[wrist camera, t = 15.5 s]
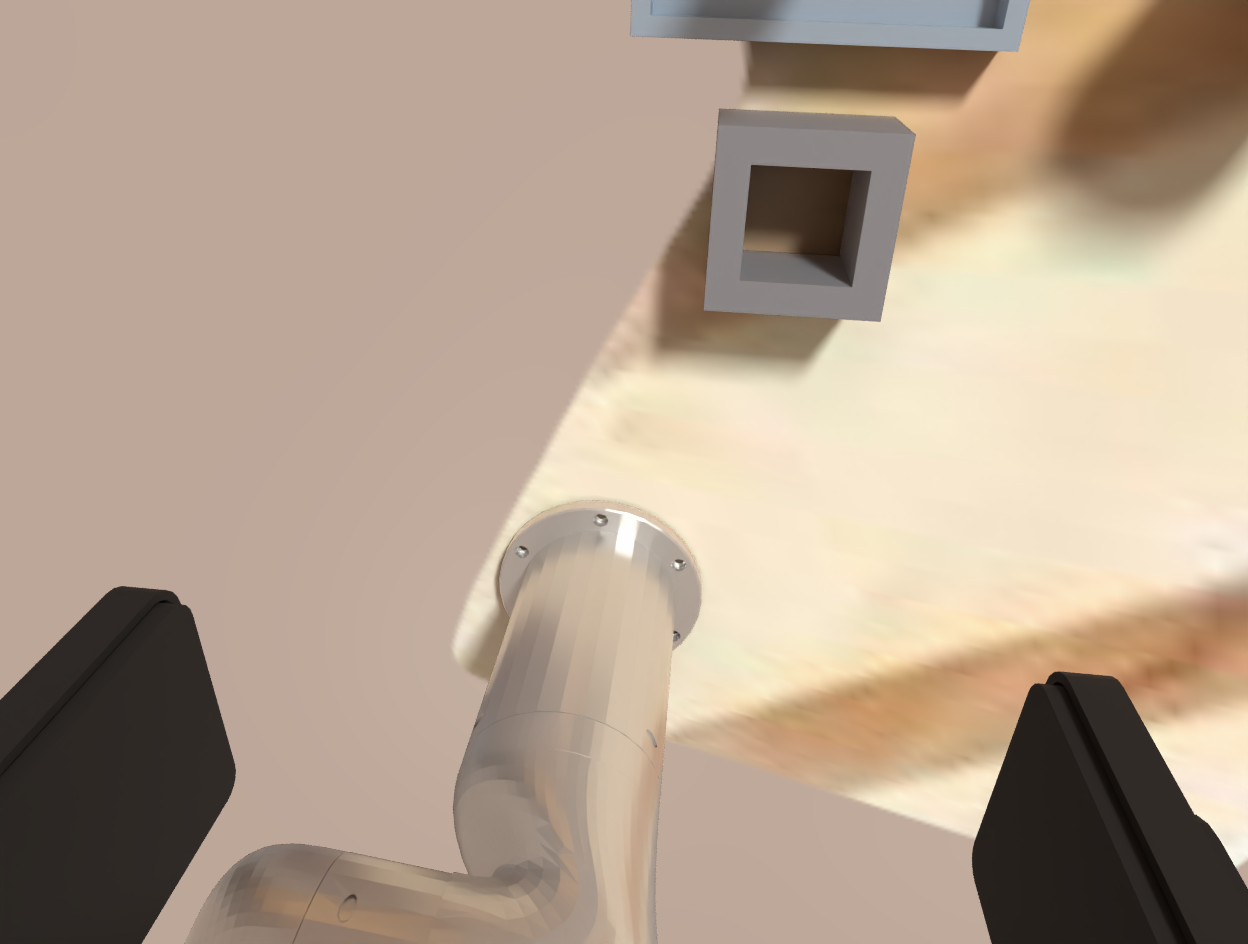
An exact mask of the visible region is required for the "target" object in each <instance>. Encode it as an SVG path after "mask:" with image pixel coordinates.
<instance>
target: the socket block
mask: <svg viewBox="0 0 1248 944" xmlns="http://www.w3.org/2000/svg"><path fill="white" fill-rule="evenodd" d="M915 136H916V134H915V133H913V132H912V131H911V130H910V129H909V128H907V127H906V126H905V125H904V124H903V123H902V122H900V121H899V120H898V119H897V118H896V117H887V116H865V115H844V114H822V113H801V112H779V111H758V110H736V109H719V119H718V131H717V143H716V155H715V168H714V180H713V193H712V205H711V218H710V231H709V243H708V256H707V268H706V281H705V297H704V311H719V312H735V313H751V314H766V315H782V316H798V317H814V318H829V319H845V320H861V321H877V322H880V321H881V316H882V311H883V305H884V300H885V295H886V289H887V284H888V279H889V273H890V268H891V263H892V258H893V252H894V247H895V242H896V236H897V231H898V226H899V220H900V215H901V210H902V205H903V199H904V194H905V189H906V183H907V178H908V173H909V167H910V162H911V157H912V151H913V146H914V141H915ZM751 165H766V166H786V167H805V168H825V169H844V170H853V173H852V180H851V186H850V192H849V199H848V205H847V211H846V218H845V224H844V230H843V237H842V243H841V250H840V256H832V255H815V254H798V253H781V252H763V251H746V250H743V241H744V231H745V221H746V211H747V201H748V191H749V181H750V171H751Z"/></svg>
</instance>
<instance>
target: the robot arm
mask: <svg viewBox="0 0 1248 944" xmlns="http://www.w3.org/2000/svg"><path fill="white" fill-rule="evenodd" d="M601 514H602V515H601ZM499 583H500V594H501V598H502V602H503V605H504V608H505V610H506V612H507V614H508V616H509V618H510V620H509V623H508V626H507V629H506V632H505V635H504V638H503V641H502V644H501V647H500V650H499V653H498V656H497V659H496V662H495V665H494V668H493V671H492V674H491V677H490V680H489V683H488V686H487V689H486V692H485V695H484V698H483V701H482V704H481V707H480V710H479V713H478V716H477V719H476V722H475V725H474V728H473V731H472V734H471V737H470V740H469V743H468V746H467V749H466V752H465V755H464V758H463V761H462V764H461V767H460V770H459V773H458V777H457V781H456V786H455V793H454V804H453V814H454V825H455V832H456V837H457V841H458V845H459V848H460V852H461V856H462V859H463V861H464V864H465V867H466V869H467V871H468V874H469V875H467V874H461V873H457V872H454V873H453V874H452V873H447V872H442V871H437V870H433V869H427V868H423V867H418V866H413V865H408V864H404V863H399V862H394V861H389V860H384V859H380V858H375V857H371V856H366V855H361V854H356V853H352V852H345V851H340V850H335V849H330V848H326V847H319V846H312V845H305V844H280V845H272V846H268V847H264V848H261V849H259V850H257V851H255V852H252V853H250V854H248V855H247V856H245V857H244V858H243V859H241V860H240V861H238V862H237V863H236V864H235V865H233V866H232V868H231V869H230V870H229V871H228V872H227V873H226V874H225V875H224V876H223V877H222V878H221V879H220V881H219V882H218V883H217V885H216V886H215V888H214V889H213V890H212V892H211V893H210V895H209V897H208V898H207V900H206V902H205V903H204V905H203V907H202V908H201V910H200V912H199V914H198V916H197V918H196V920H195V923H194V925H193V927H192V929H191V931H190V933H189V935H188V937H187V939H186V941H185V943H184V944H658V941H657V927H656V902H655V895H656V853H657V834H658V820H659V807H660V795H661V783H662V771H663V758H664V745H665V733H666V720H667V708H668V695H669V682H670V670H671V657H672V651H673V650H674V649H676V648H677V647H678V646H679V645H680V644H682V642H683V641H684V640H685V639H686V637H687V636H688V635H689V634H690V632H691V631H692V629H693V627H694V625H695V623H696V621H697V619H698V615H699V611H700V606H701V595H702V585H701V578H700V571H699V569H698V566H697V564H696V561H695V558H694V556H693V554H692V553H691V551H690V550H689V548H688V547H687V545H686V544H685V542H684V541H683V540H682V539H681V538H680V537H679V536H678V535H677V534H676V533H675V532H674V531H673V530H672V529H671V528H670V527H669V526H667V525H666V524H664V523H663V522H662V521H660V520H659V519H657V518H656V517H654V516H652V515H650V514H648V513H646V512H644V511H641V510H639V509H637V508H634V507H630V506H627V505H623V504H620V503H615V502H606V501H598V500H597V501H577V502H572V503H568V504H563V505H559V506H556V507H554V508H551V509H549V510H547V511H544V512H542V513H540V514H539V515H537V516H536V517H534V518H533V519H531V520H530V521H528V522H527V523H526V524H525V525H524V526H523V527H522V528H521V529H520V530H519V531H518V532H517V533H516V535H515V536H514V538H513V540H512V541H511V543H510V544H509V546H508V548H507V551H506V554H505V556H504V559H503V561H502V565H501V570H500V576H499ZM235 774H236V769H235V763H234V759H233V756H232V752H231V749H230V745H229V742H228V738H227V735H226V731H225V728H224V724H223V720H222V717H221V713H220V710H219V706H218V703H217V699H216V696H215V692H214V688H213V685H212V681H211V678H210V674H209V671H208V668H207V664H206V660H205V656H204V653H203V650H202V646H201V642H200V639H199V635H198V632H197V628H196V625H195V621H194V617H193V614H192V612H191V610H190V609H189V608H188V607H187V606H186V605H181V603H180V601H179V599H178V597H177V596H176V595H175V594H174V593H173V592H171V591H167V590H156V589H146V588H136V587H125V586H121V587H117V588H114V589H112V590H111V591H109V592H108V593H107V594H106V595H105V596H104V597H103V598H102V599H101V600H100V601H99V602H98V603H97V604H96V605H95V606H94V607H93V608H92V609H91V610H90V611H89V612H88V613H87V614H86V615H85V616H84V617H83V618H82V619H81V620H80V621H79V622H78V623H77V624H76V625H75V626H74V627H73V628H72V629H71V630H70V631H69V632H68V633H67V634H66V635H65V636H64V637H63V638H62V639H61V640H60V641H59V642H58V643H57V644H56V645H55V646H54V647H53V648H52V649H51V650H50V651H49V652H48V653H47V654H46V655H45V656H44V657H43V658H42V659H41V660H40V661H39V662H38V663H37V664H36V665H35V666H34V667H33V668H32V669H31V670H30V671H29V672H28V673H27V674H26V675H25V676H24V677H23V678H22V679H21V680H20V681H19V682H18V683H17V684H16V685H15V686H14V687H13V688H12V689H11V690H10V691H9V692H8V693H7V694H6V695H5V696H4V697H3V698H2V699H1V700H0V944H142V942H143V940H144V939H145V937H146V935H147V934H148V932H149V930H150V929H151V927H152V925H153V924H154V922H155V920H156V919H157V917H158V915H159V914H160V912H161V910H162V909H163V907H164V905H165V904H166V902H167V900H168V899H169V897H170V895H171V894H172V892H173V890H174V889H175V887H176V885H177V884H178V882H179V880H180V879H181V877H182V876H183V874H184V872H185V871H186V869H187V867H188V866H189V864H190V862H191V860H192V859H193V857H194V855H195V854H196V852H197V851H198V849H199V847H200V846H201V844H202V842H203V841H204V839H205V837H206V836H207V834H208V832H209V831H210V829H211V827H212V826H213V824H214V822H215V821H216V819H217V817H218V816H219V814H220V812H221V811H222V809H223V807H224V806H225V804H226V802H227V801H228V799H229V797H230V795H231V792H232V789H233V786H234V782H235ZM972 868H973V876H974V880H975V884H976V888H977V891H978V895H979V899H980V903H981V906H982V910H983V914H984V917H985V921H986V924H987V928H988V932H989V935H990V939H991V942H992V944H1248V889H1247V887H1246V885H1245V883H1244V881H1243V880H1242V878H1241V876H1240V874H1239V873H1238V871H1237V869H1236V867H1235V866H1234V864H1233V862H1232V860H1231V859H1230V857H1229V855H1228V853H1227V852H1226V850H1225V848H1224V846H1223V845H1222V843H1221V841H1220V839H1219V838H1218V837H1217V835H1216V834H1215V832H1214V831H1213V830H1212V828H1211V827H1210V826H1209V824H1208V823H1206V822H1205V821H1204V820H1202V819H1201V818H1200V817H1199V816H1197V815H1194V813H1193V811H1192V809H1191V808H1190V806H1189V804H1188V802H1187V800H1186V799H1185V797H1184V795H1183V793H1182V792H1181V790H1180V788H1179V786H1178V784H1177V783H1176V781H1175V779H1174V777H1173V775H1172V774H1171V772H1170V770H1169V768H1168V766H1167V765H1166V763H1165V761H1164V759H1163V757H1162V756H1161V754H1160V752H1159V750H1158V748H1157V747H1156V745H1155V743H1154V741H1153V739H1152V738H1151V736H1150V734H1149V732H1148V731H1147V729H1146V727H1145V725H1144V723H1143V722H1142V720H1141V718H1140V716H1139V714H1138V713H1137V711H1136V709H1135V707H1134V705H1133V704H1132V702H1131V700H1130V698H1129V696H1128V695H1127V693H1126V691H1125V689H1124V687H1123V686H1122V685H1121V683H1120V682H1119V681H1118V680H1117V679H1115V678H1114V677H1112V676H1103V675H1092V674H1081V673H1070V672H1054V673H1053V674H1051V675H1050V676H1049V678H1048V680H1047V682H1046V684H1034V685H1033V686H1032V687H1031V688H1030V690H1029V692H1028V695H1027V698H1026V701H1025V703H1024V706H1023V709H1022V712H1021V714H1020V717H1019V720H1018V723H1017V726H1016V728H1015V731H1014V734H1013V737H1012V739H1011V742H1010V745H1009V748H1008V751H1007V753H1006V756H1005V759H1004V762H1003V764H1002V767H1001V770H1000V773H999V776H998V778H997V781H996V784H995V787H994V789H993V792H992V795H991V798H990V800H989V803H988V806H987V809H986V812H985V814H984V817H983V820H982V823H981V825H980V828H979V831H978V834H977V837H976V839H975V842H974V846H973V853H972Z"/></svg>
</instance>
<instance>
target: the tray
mask: <svg viewBox="0 0 1248 944" xmlns="http://www.w3.org/2000/svg"><path fill="white" fill-rule="evenodd" d="M1029 3H1030V0H631V32H630V36H638V37H639V36H640V37H663V38H687V39H689V38H690V39H712V40H737V41H761V42H785V43H810V44H834V45H859V46H883V47H908V48H932V49H957V50H981V51H1006V52H1018V50H1019V46H1020V41H1021V37H1022V33H1023V28H1024V24H1025V20H1026V16H1027V11H1028V7H1029Z"/></svg>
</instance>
